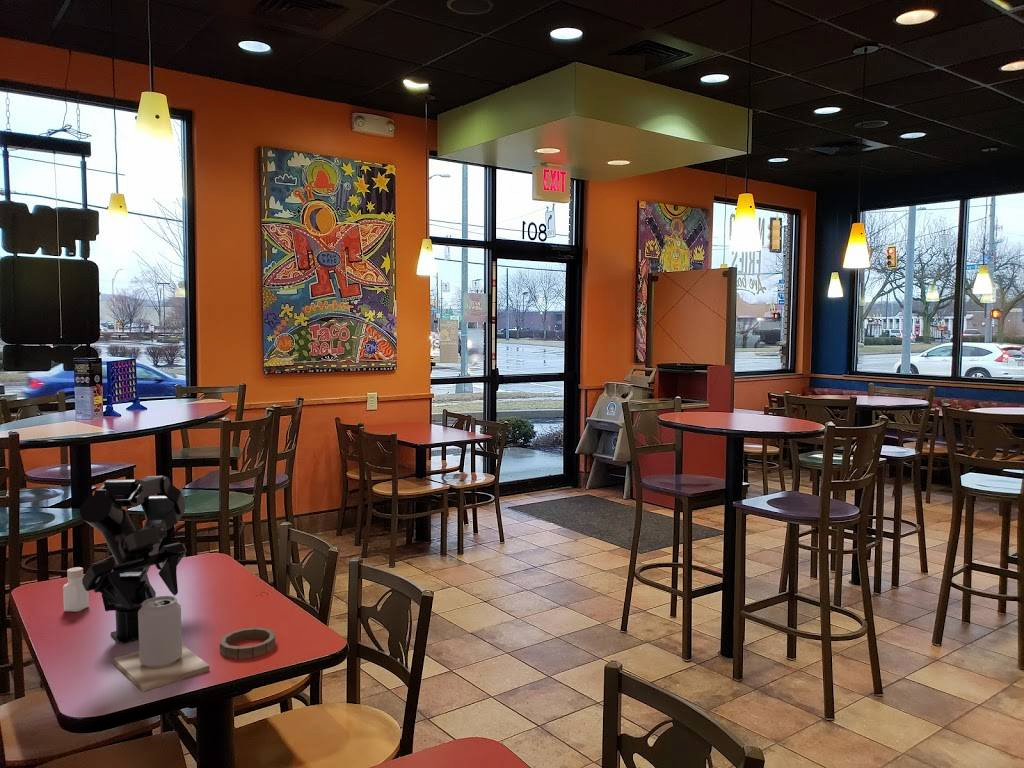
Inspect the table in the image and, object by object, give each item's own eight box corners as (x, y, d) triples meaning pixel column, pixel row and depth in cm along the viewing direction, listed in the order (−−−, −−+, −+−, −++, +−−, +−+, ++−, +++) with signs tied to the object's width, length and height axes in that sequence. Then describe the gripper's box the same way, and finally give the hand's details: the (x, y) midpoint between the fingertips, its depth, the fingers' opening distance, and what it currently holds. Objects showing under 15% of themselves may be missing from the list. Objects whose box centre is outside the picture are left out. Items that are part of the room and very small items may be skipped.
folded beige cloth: (114, 663, 146) (113, 658, 146) (177, 645, 154) (177, 640, 154) (142, 691, 134) (142, 686, 134) (209, 670, 143) (209, 665, 143)
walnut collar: (211, 647, 153) (211, 637, 153) (260, 632, 161) (260, 623, 161) (234, 663, 146) (234, 653, 146) (284, 647, 153) (284, 638, 153)
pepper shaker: (90, 606, 176) (88, 566, 175) (79, 612, 172) (77, 572, 171) (74, 605, 176) (72, 566, 176) (62, 612, 173) (61, 571, 172)
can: (186, 663, 144) (184, 601, 143) (143, 673, 139) (141, 610, 138) (177, 650, 150) (175, 591, 149) (136, 659, 145) (134, 599, 144)
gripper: (87, 521, 139) (122, 591, 134) (180, 503, 155) (214, 565, 150) (67, 556, 144) (100, 624, 139) (159, 535, 160) (191, 596, 154)
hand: (154, 600), depth 145 cm, fingers open, 9 cm apart
